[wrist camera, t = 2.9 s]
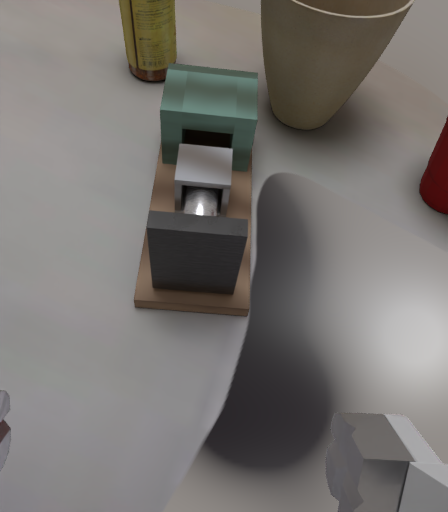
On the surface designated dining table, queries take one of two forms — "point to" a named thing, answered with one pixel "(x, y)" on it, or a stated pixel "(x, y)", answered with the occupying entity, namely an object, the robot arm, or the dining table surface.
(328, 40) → the plant pot
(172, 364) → the dining table surface
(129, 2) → the sauce bottle
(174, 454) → the dining table surface
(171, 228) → the upright dark gray slab
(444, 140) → the plastic cup
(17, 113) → the dining table surface
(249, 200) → the tube housing
